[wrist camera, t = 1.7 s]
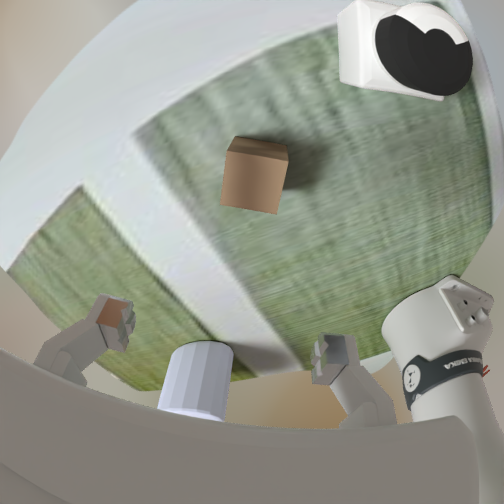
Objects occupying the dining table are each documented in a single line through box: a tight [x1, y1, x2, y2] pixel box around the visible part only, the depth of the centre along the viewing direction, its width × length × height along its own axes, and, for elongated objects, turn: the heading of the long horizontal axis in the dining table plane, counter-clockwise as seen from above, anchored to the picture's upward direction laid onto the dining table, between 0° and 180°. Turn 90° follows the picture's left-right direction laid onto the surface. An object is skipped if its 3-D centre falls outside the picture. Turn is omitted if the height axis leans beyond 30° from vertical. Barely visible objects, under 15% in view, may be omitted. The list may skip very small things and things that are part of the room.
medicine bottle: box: [337, 0, 473, 101], centre depth 14 cm, size 7×7×12 cm
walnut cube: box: [220, 137, 289, 214], centre depth 25 cm, size 5×5×5 cm
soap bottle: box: [157, 341, 234, 422], centre depth 40 cm, size 13×8×20 cm, turn 125°
